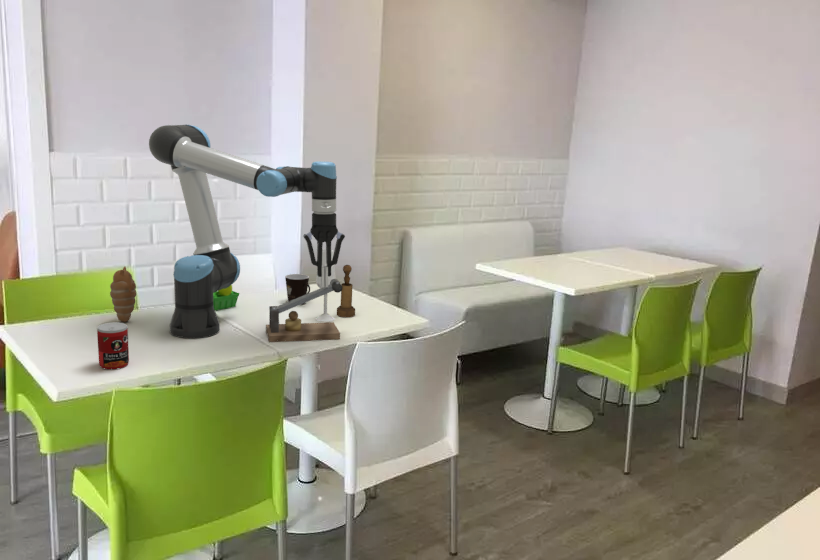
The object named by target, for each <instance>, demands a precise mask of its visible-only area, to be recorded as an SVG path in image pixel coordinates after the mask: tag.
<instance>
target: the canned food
mask: <svg viewBox="0 0 820 560" xmlns="http://www.w3.org/2000/svg"><path fill="white" fill-rule="evenodd" d="M128 329H129V328H128V325H127V324H126V323H125V322H118V321H117V322H116V321H115V322H104V323H101V324H99V325H98V326H96V334H97V335H96V337H97V349H98V351H97V352H98V365H99V367H100V368H101V367H102V368H101V369H103V368H105V369H104V370H111V369H112V370H118V369H117V368H120V369H123V368H125V367H127V366H128V365H129V362H130V354H129V353H130V352H129V349H130V348H129V330H128Z"/></svg>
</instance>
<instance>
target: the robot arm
mask: <svg viewBox="0 0 820 560" xmlns="http://www.w3.org/2000/svg"><path fill="white" fill-rule="evenodd" d="M148 148H149V151H150V153H151V155H152V156H153V157H154V158H155V160H156V161H159V162H160V163H163V164H166V165H170V168H171V170H172V172H174V173H175V174H177V176H178V178H179V183H180V186H181V192H182V196H183V199H184V203H185V206H186V211H187V214H188V215H187V216H188V219H189V222H190V227H191V231H192V234H193V239H194V243H195V246H196V248H195V250H194V252H193V255H190V256H189V255H187V256H183V257H181V258H179V259H177V260H176V261H175V262H174V267H173V283H174V286H173V287H174V311H173V314H172V317H171V319H170V323H169V333H170V334H171V335H172V336H174V337H177V338H183V339H200V338H208V337H210V336H211V337H212V336H214V335H216V334H218V333H219V332H220V330H221V329H220V321H219V318H218V316H217V313H216V311H215V310H214V305H213V293H214V292H216V291H219V290H221V289H225V288H227V287H229V286H230V285H232V286H233V284H234V283H235V282H236V281H237V280H238V278H239V276H240V273H241V264H240V262H239V261H240V260H239V259H238V257H237V256H236V255H235V254H234V253H233V252H231V250H230V246H229V245H228V244H227V243H225V242H224V241H223V235H222V233H221V228H220V225H219V221H218V217H217V213H216V208H215V203H214V200H213V196H212V192H211V188H210V184H209V180H208V175H210V176H211V175H212V176H214V177H217V178H220V179H223V180H227V181H229V182H232V183H235V184H238V185H240V186H241V185H242V186H244V187H248V188H251V189H254V190H257V191H258V192H259V193H260V194H261V195H262V196H265V197H267V198H268V197H269V198H270V197H271V198H275V197H279V196H281V195H285V194H290V193H294V192H295V193H311V211H312V213H311V228H310V230H309V231H308V233H304V234H303V236H302V237H303V239H304V240H305V241H306V245H307V249H308V254H309V257H310V261H311V262H310V263H311V264H312V265H313V266H316V269H317V272H316V276H317V275H318V277H321V287H322V288H324V286H325V287H328V276H331V266H332V265H337V264H338V260H339V255H340V251H341V247H342V242H343V241H344V240H345V237H346V236H345V234H344V232H343V233H342V232H340V231H339V230H338V229H339V228H337V214H336V211H337V178H338V176H337V167H336V166H337V165H336V164H335V163H334V162H332V161H313V162H312V163H311V166H310V167H300V166H299V167H298V166H277V167H276V168H273V167H272V166H271V167H270V166H268V165H264V164H261V163H258V162H254V161H252V160H248V159H246V158H242V157H240V156H236V155H233V154H230V153H227V152H225V151H224V152H223V151H221V150H218V149H214V148H212V147H211V141H210V138H209V136H208V135H207V133H206V132H205V131H204V129H202V128H200V127H198V126H196V125H192V124H191V125H190V124H175V125H173V124H171V125H169V124H168V125H162V126H159V127H157V128H156V129H155V130H154V131H153V132H152V133H151V134H150V137H149V139H148ZM207 174H208V175H207ZM312 237H313V238H314V240H316V245H317V249H316V250H317V251H316V256H315V251H314V249H313V248H314V246H313V244H312V239H313V238H312ZM335 237H336V241H335V245H334V255H333V259H332V261H331V250H332V241H333V240H334V239H335ZM323 243H325V249H326V264H327V265H324V266H322V249H323V245H324V244H323Z"/></svg>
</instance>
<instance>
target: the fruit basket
mask: <svg viewBox="0 0 820 560" xmlns="http://www.w3.org/2000/svg"><path fill="white" fill-rule="evenodd" d="M239 295H240V292H238V291H235V290H233V284H232V285H230V286H229V287H227V288H225V289H221V290H219V291H216V292H214V293H213V305H214V310H216V311H219V310H225V309H231V308H235V307H236V305H237V302H238V299H239V297H240V296H239Z"/></svg>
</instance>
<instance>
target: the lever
mask: <svg viewBox="0 0 820 560" xmlns="http://www.w3.org/2000/svg"><path fill="white" fill-rule="evenodd" d="M341 284H342V283H341V282H340V281H339V280H338V279H337V278H336V279H332V280H331V281H330V285H328V287H324V288H317V289H315V290H313V291H310V292H309V293H308V292H307V293H308V294H306V295H303V296H301V297H298V298H296V299H294V300H291V301H289V302H288V301H287V302H285V303H281V304H280V305H276V306H277V307H271V308H270V313H271V310H279V314H281V313H284V312H286V311H288V310H291V309H293V308H296V307H298V306H302V305H301V304H303V303H305V302H306V303H307V302H310V301H312V300H315V299H317V298H319V297H323V296H324V295H325V294H327V295H328V294H330V293H332V292H334V293H337V294H338V293H341V291H342V285H341ZM306 303H305V304H306Z"/></svg>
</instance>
